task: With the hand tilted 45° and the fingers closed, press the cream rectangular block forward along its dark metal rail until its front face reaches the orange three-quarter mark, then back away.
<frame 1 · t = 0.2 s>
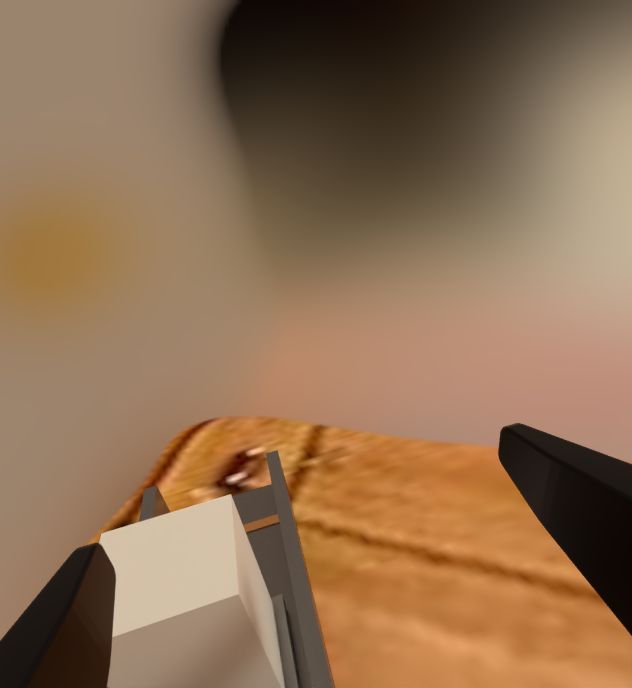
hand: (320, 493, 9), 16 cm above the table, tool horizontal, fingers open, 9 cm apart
cream rectangular block: (203, 629, 16), point 6 cm above the table, slide at 0.0 cm
rail housing: (236, 645, 21), on the table
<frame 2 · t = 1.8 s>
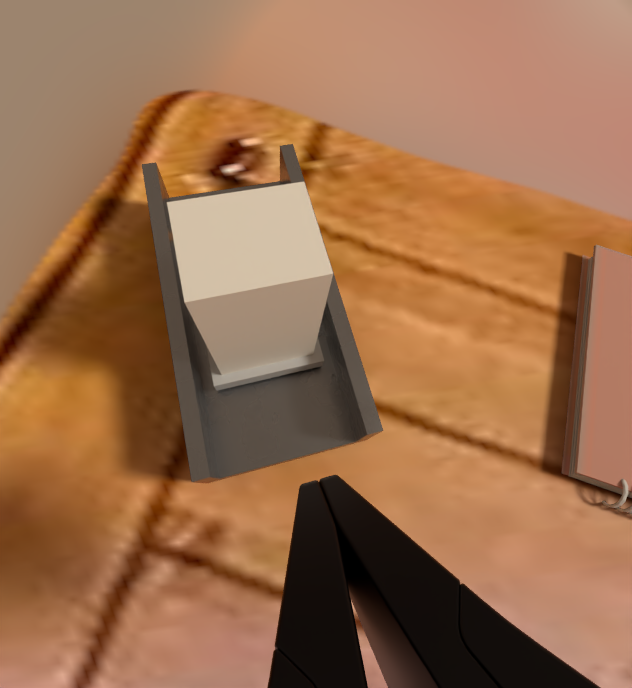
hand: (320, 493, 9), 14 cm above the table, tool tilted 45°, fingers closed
cream rectangular block: (256, 299, 18), point 6 cm above the table, slide at 0.0 cm
rail housing: (255, 315, 25), on the table
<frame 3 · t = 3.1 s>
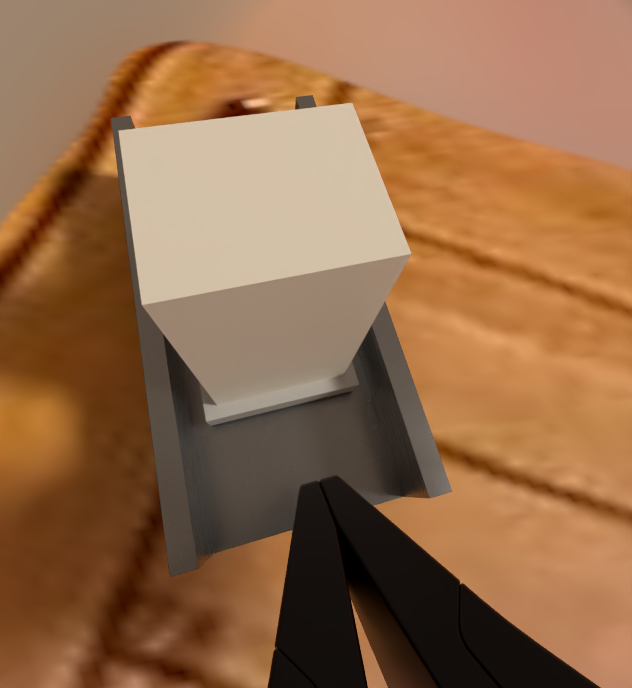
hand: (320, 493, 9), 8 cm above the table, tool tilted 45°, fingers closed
cream rectangular block: (267, 300, 12), point 6 cm above the table, slide at 0.0 cm
rail housing: (262, 321, 19), on the table
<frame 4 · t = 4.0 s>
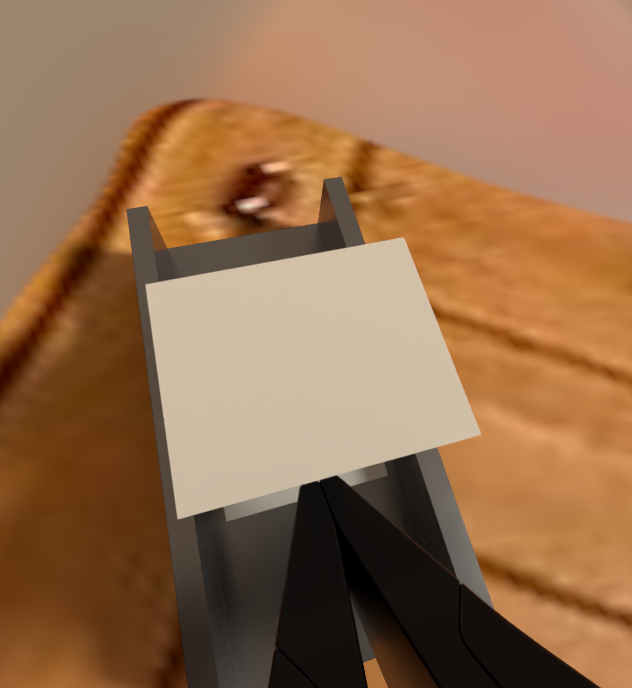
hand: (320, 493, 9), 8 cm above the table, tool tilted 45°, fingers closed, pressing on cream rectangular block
cream rectangular block: (297, 410, 11), point 6 cm above the table, slide at 1.2 cm, touching gripper
rail housing: (287, 418, 17), on the table
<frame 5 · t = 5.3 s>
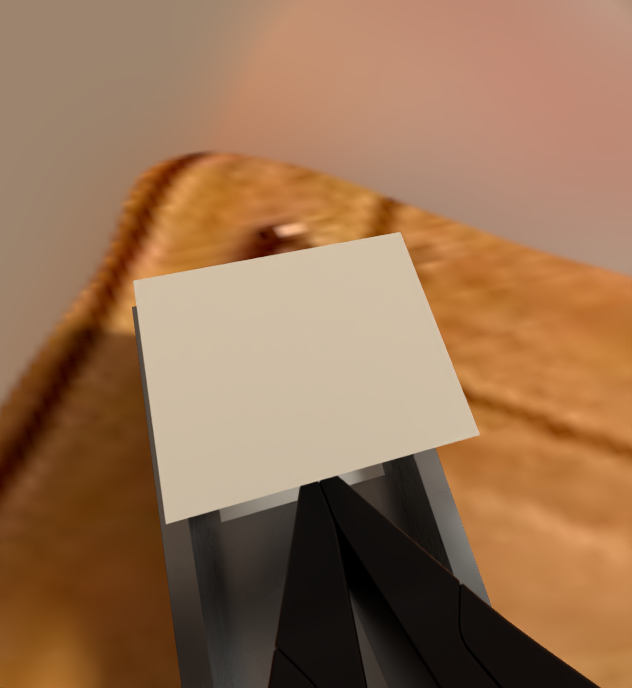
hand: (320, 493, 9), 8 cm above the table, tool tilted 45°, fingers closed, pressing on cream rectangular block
cream rectangular block: (292, 409, 11), point 6 cm above the table, slide at 5.7 cm, touching gripper
rail housing: (310, 526, 16), on the table
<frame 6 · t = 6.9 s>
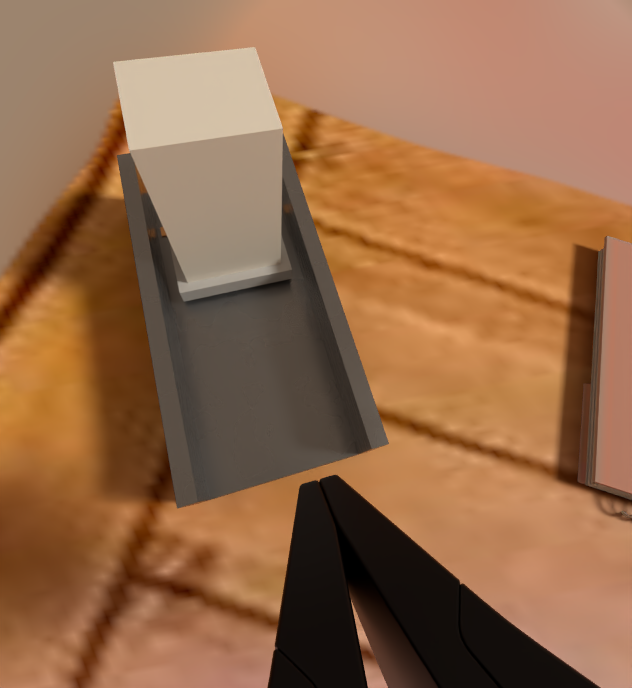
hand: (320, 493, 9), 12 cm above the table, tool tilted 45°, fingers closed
cream rectangular block: (217, 193, 18), point 6 cm above the table, slide at 5.7 cm
rail housing: (245, 318, 23), on the table
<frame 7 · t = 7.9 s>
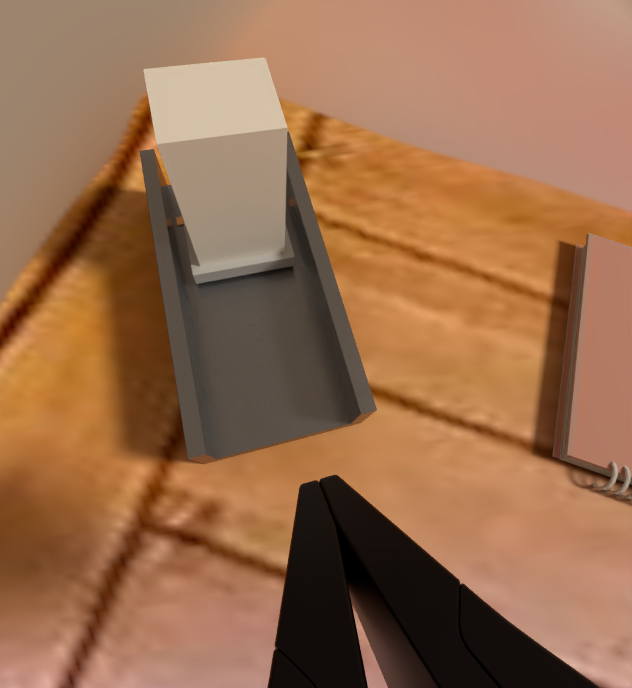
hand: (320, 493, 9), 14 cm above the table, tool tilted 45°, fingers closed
cream rectangular block: (229, 185, 20), point 6 cm above the table, slide at 5.7 cm
rail housing: (251, 301, 25), on the table
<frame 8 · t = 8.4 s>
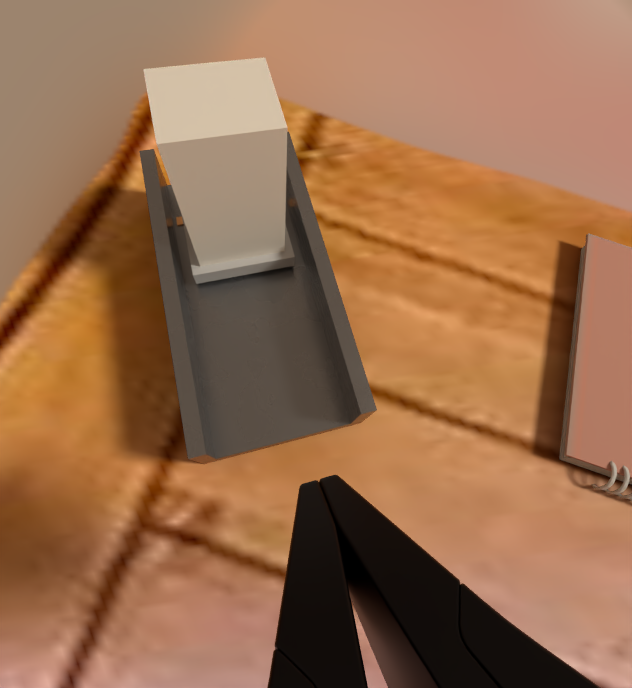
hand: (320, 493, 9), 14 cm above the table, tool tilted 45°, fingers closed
cream rectangular block: (229, 185, 20), point 6 cm above the table, slide at 5.7 cm
rail housing: (251, 301, 25), on the table
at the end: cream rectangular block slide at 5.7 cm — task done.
